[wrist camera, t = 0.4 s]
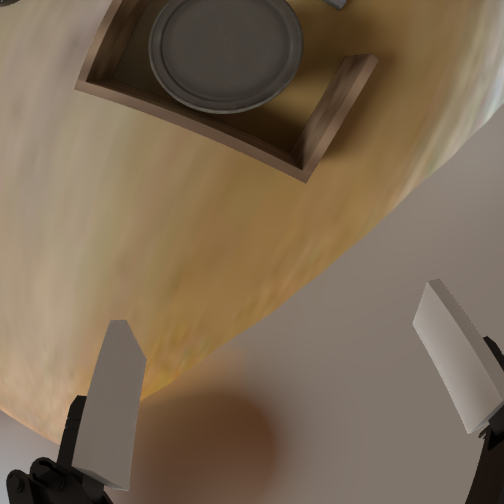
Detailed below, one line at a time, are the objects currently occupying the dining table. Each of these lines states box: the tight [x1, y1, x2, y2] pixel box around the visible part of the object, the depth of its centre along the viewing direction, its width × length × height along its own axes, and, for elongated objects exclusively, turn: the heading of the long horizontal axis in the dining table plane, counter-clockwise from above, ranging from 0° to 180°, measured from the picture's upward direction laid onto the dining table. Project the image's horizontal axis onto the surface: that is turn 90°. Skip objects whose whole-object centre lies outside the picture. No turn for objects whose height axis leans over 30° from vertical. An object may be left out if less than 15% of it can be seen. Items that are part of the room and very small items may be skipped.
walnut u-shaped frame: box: [74, 0, 379, 183], centre depth 25 cm, size 15×25×7 cm, turn 63°
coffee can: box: [148, 0, 303, 114], centre depth 22 cm, size 10×10×14 cm
